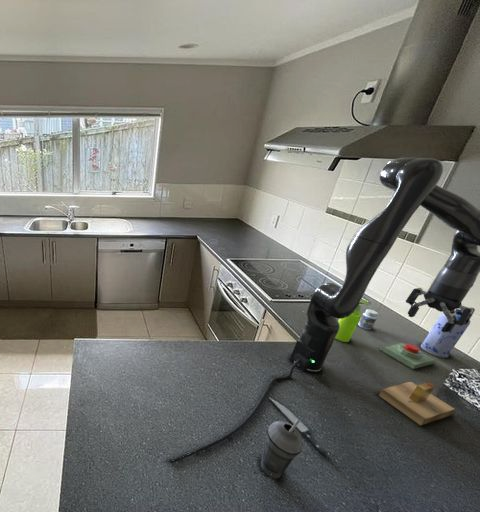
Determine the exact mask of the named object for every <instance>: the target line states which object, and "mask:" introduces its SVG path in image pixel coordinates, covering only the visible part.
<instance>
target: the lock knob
mask: <svg viewBox="0 0 480 512" xmlns="http://www.w3.org/2000/svg"><path fill="white" fill-rule="evenodd" d="M416 385H417V387H416V388H415V390H414V391H413V393H412V394H411V396H410V397H409V398H410V399H412V400H413V401H415V402H419V401H423V400H426V399H427V398H428V396H429V395H430V394H432V392H433V391H434V390H435V388H436V386H435V385H433V384H432V383H430V382H425V383H421V384H416Z"/></svg>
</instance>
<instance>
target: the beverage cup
mask: <svg viewBox="0 0 480 512" xmlns="http://www.w3.org/2000/svg"><path fill="white" fill-rule="evenodd" d="M300 421H301V419H300V418H297V421H296V422H295V423H294V424H292V423H290V422H287V421H286V420H285V421H284V420H278V421H277V420H276V421H274V422H272V423H271V424H270V425H269V426H268V427H267V430H266V440H265V444H264V448H263V452H262V455H261V460H260V467H261V469H262V471H263V472H264V473H265V474H266V475H267V476H269V477H270V478H272V479H279V478H280V477H281V476H282V475H283V474H284V472H285V471H286V470H287V468H288V467H289V466H290V465H291V464H292V462H293V460H294V459H295V458H296V457H297V456H298V455H299V454H301V453H302V450H303V445H304V443H303V438H302V434H301V432H300V430H299V429H298V428H297V427H296V426H297V424H298V423H299V422H300ZM271 474H272V475H271Z"/></svg>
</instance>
